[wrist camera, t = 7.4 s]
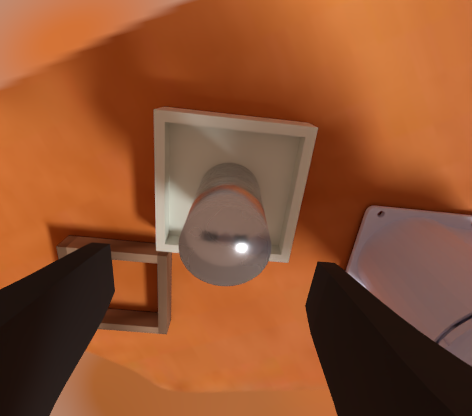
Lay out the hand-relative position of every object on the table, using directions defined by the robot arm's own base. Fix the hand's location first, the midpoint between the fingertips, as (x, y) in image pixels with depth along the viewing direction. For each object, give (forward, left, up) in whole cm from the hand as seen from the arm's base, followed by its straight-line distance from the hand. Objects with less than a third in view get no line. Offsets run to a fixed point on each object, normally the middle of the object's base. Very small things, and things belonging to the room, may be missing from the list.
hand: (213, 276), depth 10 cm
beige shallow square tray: (0, 0, -10) cm, 10 cm away
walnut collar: (+8, +10, -10) cm, 16 cm away
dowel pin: (0, 0, -9) cm, 9 cm away
